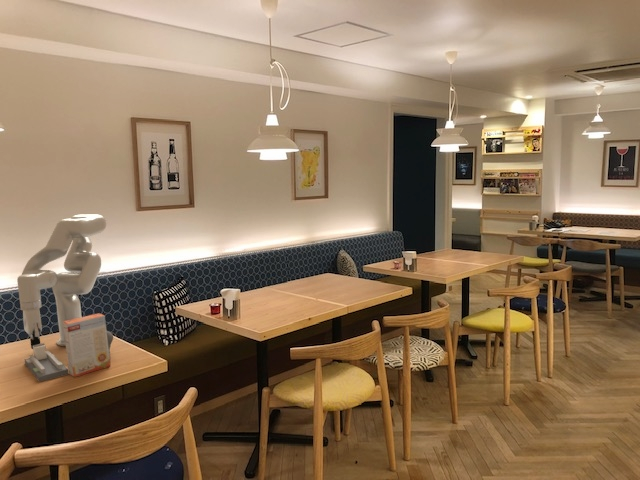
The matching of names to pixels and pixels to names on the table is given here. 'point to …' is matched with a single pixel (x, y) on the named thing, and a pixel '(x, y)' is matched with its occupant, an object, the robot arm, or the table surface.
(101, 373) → the table surface
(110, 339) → the light bulb
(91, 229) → the robot arm
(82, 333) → the cracker box
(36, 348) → the switch tab
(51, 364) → the switch panel
